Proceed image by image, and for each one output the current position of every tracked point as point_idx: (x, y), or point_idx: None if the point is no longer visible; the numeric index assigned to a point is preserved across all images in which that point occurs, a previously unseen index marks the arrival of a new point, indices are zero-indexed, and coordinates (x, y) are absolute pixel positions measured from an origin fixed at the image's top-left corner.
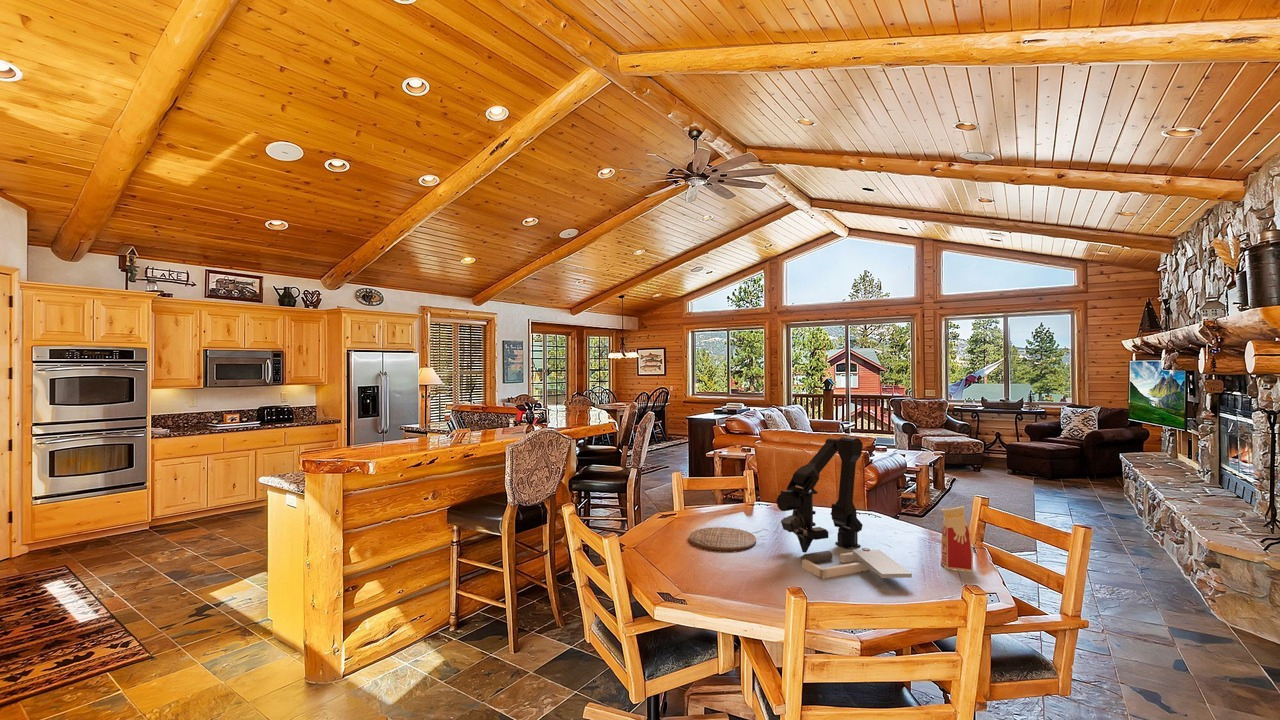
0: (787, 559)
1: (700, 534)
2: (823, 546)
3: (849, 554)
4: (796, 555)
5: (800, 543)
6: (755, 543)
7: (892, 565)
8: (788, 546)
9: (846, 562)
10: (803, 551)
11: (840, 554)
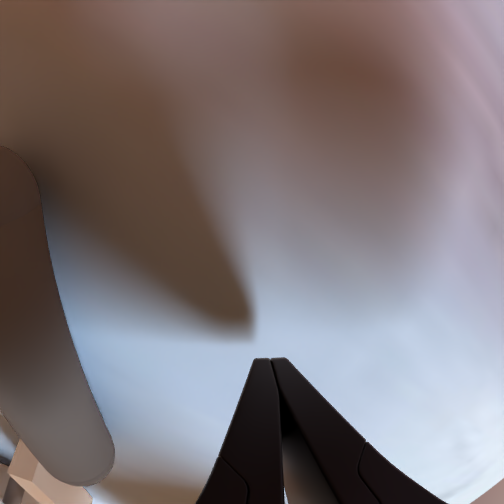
0: (228, 31)
1: None
2: None
3: (31, 495)
4: (307, 261)
5: (332, 435)
6: None
7: None
8: (495, 332)
9: None
10: (262, 365)
11: (28, 478)
